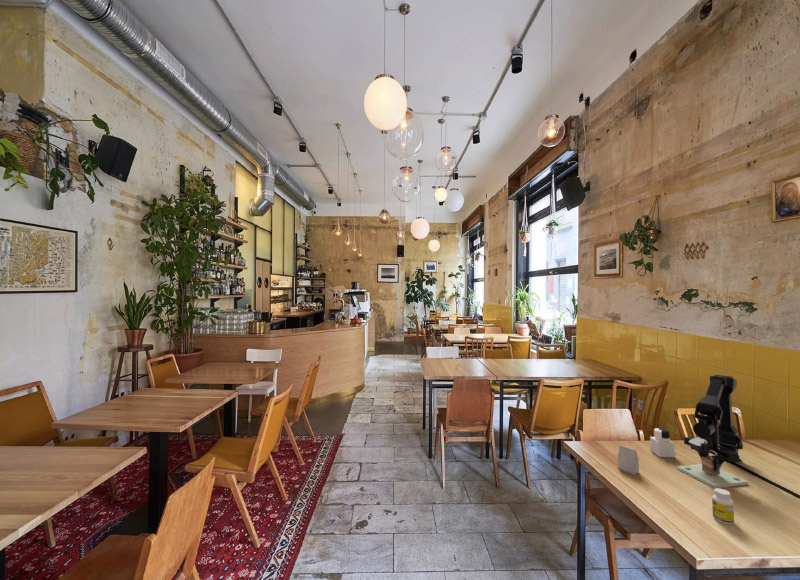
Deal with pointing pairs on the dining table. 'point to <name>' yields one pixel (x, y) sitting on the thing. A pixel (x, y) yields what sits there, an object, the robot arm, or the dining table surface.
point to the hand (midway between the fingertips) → (710, 468)
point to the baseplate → (712, 477)
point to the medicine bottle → (662, 443)
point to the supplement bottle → (722, 506)
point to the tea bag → (628, 460)
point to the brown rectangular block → (709, 465)
